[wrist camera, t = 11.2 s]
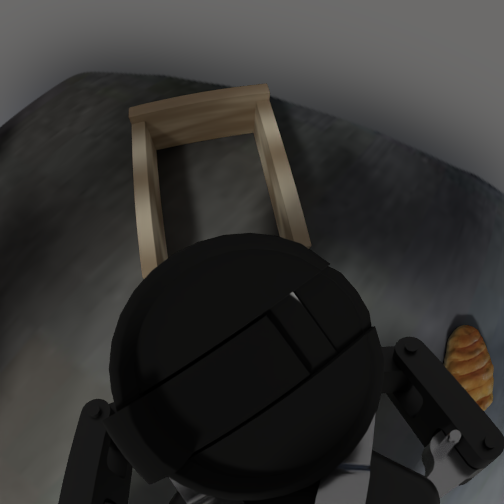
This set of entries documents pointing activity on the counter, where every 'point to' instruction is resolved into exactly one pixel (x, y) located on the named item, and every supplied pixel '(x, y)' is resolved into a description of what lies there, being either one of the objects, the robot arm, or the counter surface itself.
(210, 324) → the travel mug
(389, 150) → the counter surface
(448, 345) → the pastry
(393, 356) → the robot arm
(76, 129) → the counter surface
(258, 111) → the frame
